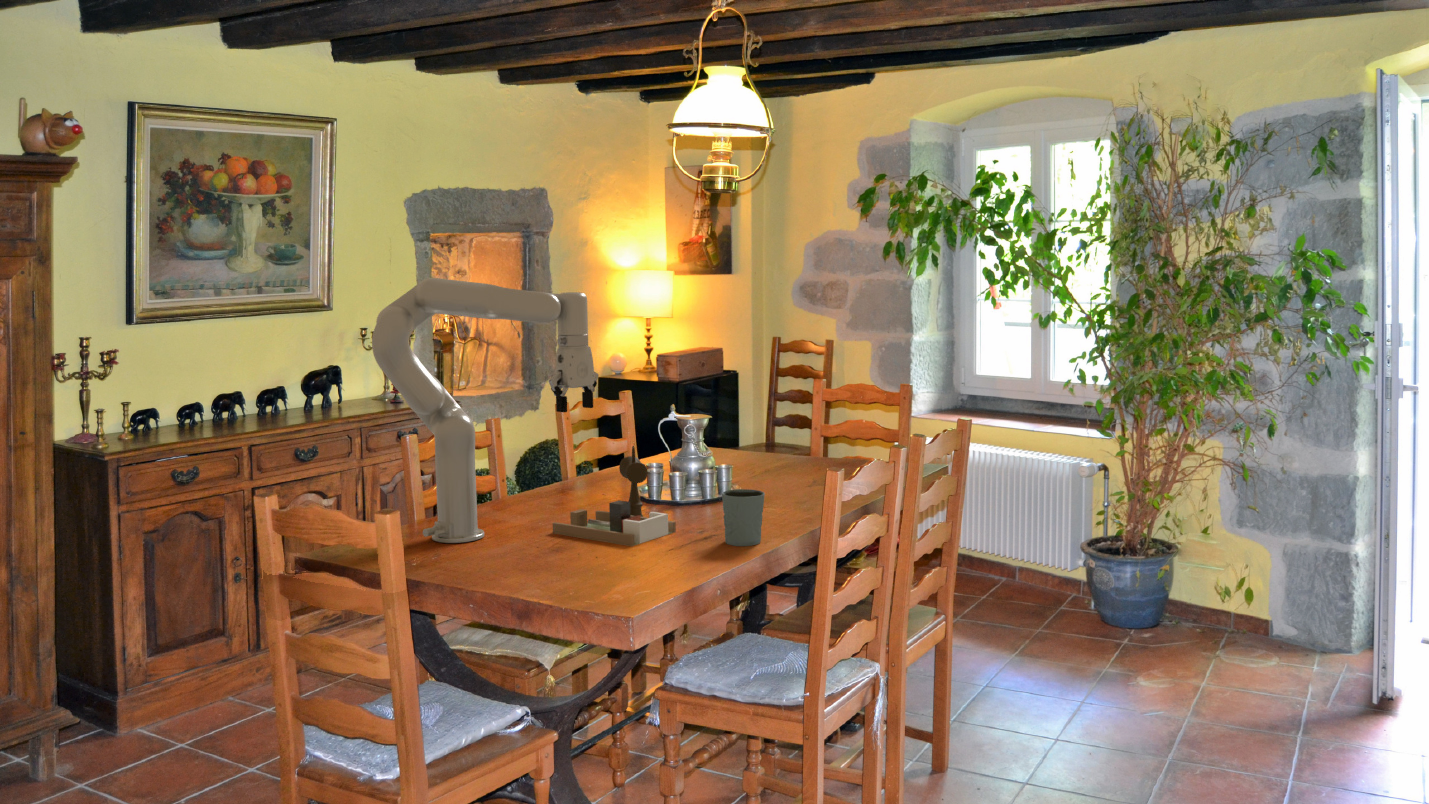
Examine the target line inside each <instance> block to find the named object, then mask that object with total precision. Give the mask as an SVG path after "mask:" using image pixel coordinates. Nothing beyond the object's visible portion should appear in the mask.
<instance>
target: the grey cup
mask: <svg viewBox="0 0 1429 804" xmlns="http://www.w3.org/2000/svg"><path fill="white" fill-rule="evenodd" d="M721 496H722V510H723V513H724V514H723V526H724V541H725V544H727V545H730V546H733V547H751V546H755V545H756V546H757V545H759V544H760V543H761V541H762V526H763V512H764V504H765V503H764V502H765V492H764V491H761V490H756V489H749V488H748V489H747V488H746V489H744V488H742V489H740V488H739V489H737V488H736V489H727V490H725V491H722V492H721Z"/></svg>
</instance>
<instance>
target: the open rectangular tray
mask: <svg viewBox="0 0 1429 804" xmlns="http://www.w3.org/2000/svg"><path fill="white" fill-rule="evenodd" d="M569 515H570V524H569V523H561V522H556V521H555V522H552V534H557V535H561V536H562V535H563V536H569V537H574V538H580V539H586V540H592V541H597V542H604V543H611V544H614V545H615V544H616V545H622V546H628V547H634V546H636V545H640V544H643V543H646V542H649V541H651V540H656V539H658V538H662V537H664V536H668V535H671V534H674V533H676V532H677V528H676V526H677V523H676V521H672V520H669V514H668V513H663V512H657V511H650V512H648V515H649V516H648V517H645V516H643V517H641V521H633V520H627V519H625V520H623V533H620V532H614V531H610V527H607V526H600V525H594V524H588V510H587V509H583V508H582V509H581V508H580V509H577V510H574V511H570V513H569ZM630 517H633V515H630ZM595 520H600V521H606V522H610V511H604V510H595Z"/></svg>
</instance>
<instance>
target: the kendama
mask: <svg viewBox="0 0 1429 804" xmlns="http://www.w3.org/2000/svg"><path fill="white" fill-rule="evenodd" d="M618 469H619V473H620V475H621V476H622V477H623V478H625V479H627V480H628V481H629V482H630V492H629V497H628V501H627V502H630V515H633V516H637V515H639V516H641V517H644V516H643V513H642V507H643V502H642V501H641V498H640V493H639V488H638V484H642V483H643V482H645V481H646V479H647V478H648V474H649V471H648V467H647V465H646V464H644V463H643V462H641V460H640V459H639V458H638V457H637V456H636V448H635V446H634V445H633V446H632V447H631V455H628V456H625V457H624V458H622V459H621V461H620V462H619V466H618Z"/></svg>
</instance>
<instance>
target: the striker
mask: <svg viewBox="0 0 1429 804" xmlns="http://www.w3.org/2000/svg"><path fill="white" fill-rule="evenodd" d="M608 504H609V507H608V508H609V511H608V512H610V522H606V521H600V520H596V519H592V518H589V519H587V523H588V524H594V525H600V526H607V527H610V531H614V532H620V533H623V520H625V519H627V520H633V521H641V516H639V515H637V516H633V517H630V502H628V501H627V500H619V499H618V500H615V501H611V502H608Z"/></svg>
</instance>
